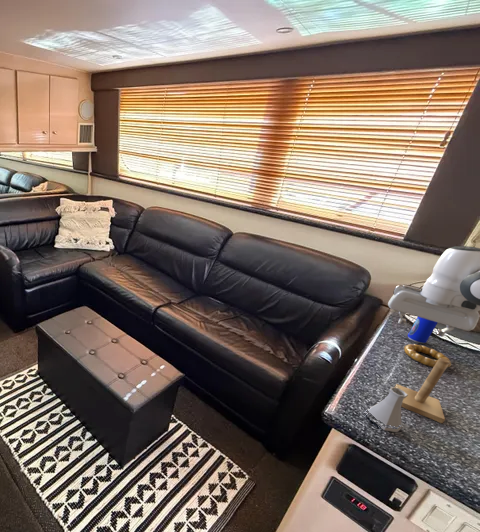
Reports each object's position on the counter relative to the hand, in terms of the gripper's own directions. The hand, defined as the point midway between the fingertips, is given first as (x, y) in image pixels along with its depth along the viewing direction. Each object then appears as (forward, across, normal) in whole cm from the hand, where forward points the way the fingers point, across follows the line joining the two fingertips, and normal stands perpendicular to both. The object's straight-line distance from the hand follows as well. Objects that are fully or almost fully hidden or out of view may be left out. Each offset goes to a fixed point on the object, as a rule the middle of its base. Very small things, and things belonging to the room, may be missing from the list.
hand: (419, 329), depth 108 cm
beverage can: (+10, +4, +14) cm, 18 cm away
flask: (+10, -8, -47) cm, 49 cm away
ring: (+8, +5, 0) cm, 10 cm away
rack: (+10, 0, -32) cm, 34 cm away
